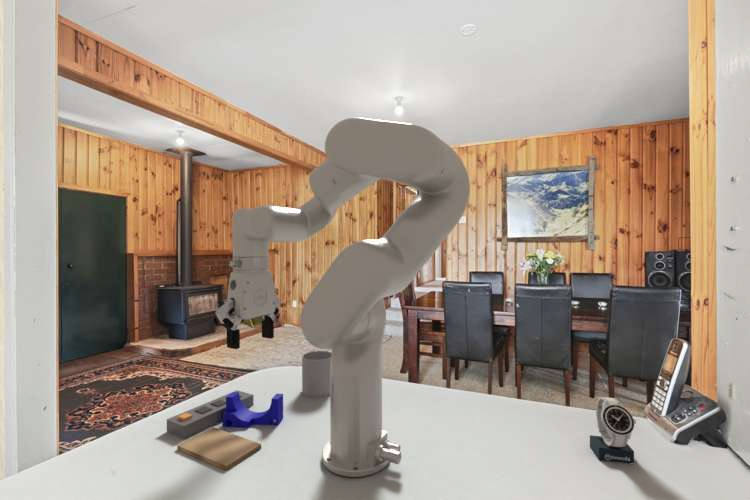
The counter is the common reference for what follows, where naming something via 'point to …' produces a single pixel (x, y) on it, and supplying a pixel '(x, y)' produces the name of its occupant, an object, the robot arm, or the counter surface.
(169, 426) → the power strip
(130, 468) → the counter surface
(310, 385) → the cup
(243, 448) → the wooden board
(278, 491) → the counter surface
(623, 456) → the watch
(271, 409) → the cable clip
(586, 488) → the counter surface
